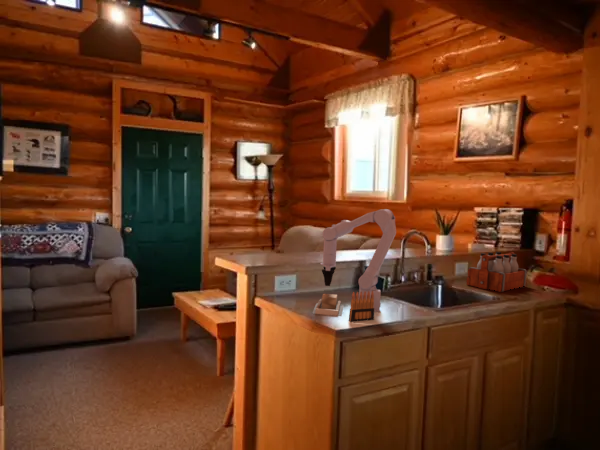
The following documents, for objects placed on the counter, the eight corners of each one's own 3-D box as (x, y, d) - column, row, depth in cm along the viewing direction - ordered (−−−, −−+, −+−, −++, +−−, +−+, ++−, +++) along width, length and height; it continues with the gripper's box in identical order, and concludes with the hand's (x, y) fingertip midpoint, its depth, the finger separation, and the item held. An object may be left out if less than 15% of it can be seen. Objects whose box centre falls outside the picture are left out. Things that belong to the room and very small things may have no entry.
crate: (336, 306, 208) (337, 294, 208) (335, 309, 202) (336, 297, 202) (322, 304, 209) (323, 293, 209) (321, 308, 203) (322, 296, 203)
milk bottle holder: (463, 285, 273) (466, 252, 272) (493, 280, 296) (496, 249, 295) (498, 293, 257) (502, 257, 256) (528, 287, 280) (531, 254, 279)
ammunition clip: (351, 322, 185) (352, 292, 184) (348, 321, 187) (350, 291, 186) (374, 320, 190) (376, 291, 189) (371, 319, 191) (373, 290, 190)
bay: (343, 306, 210) (343, 301, 210) (341, 317, 192) (341, 311, 192) (316, 304, 211) (316, 298, 211) (311, 314, 194) (312, 308, 194)
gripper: (322, 251, 221) (320, 280, 222) (319, 255, 207) (317, 286, 208) (337, 252, 220) (335, 281, 221) (335, 256, 206) (334, 287, 207)
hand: (328, 284), depth 214 cm, fingers open, 7 cm apart
